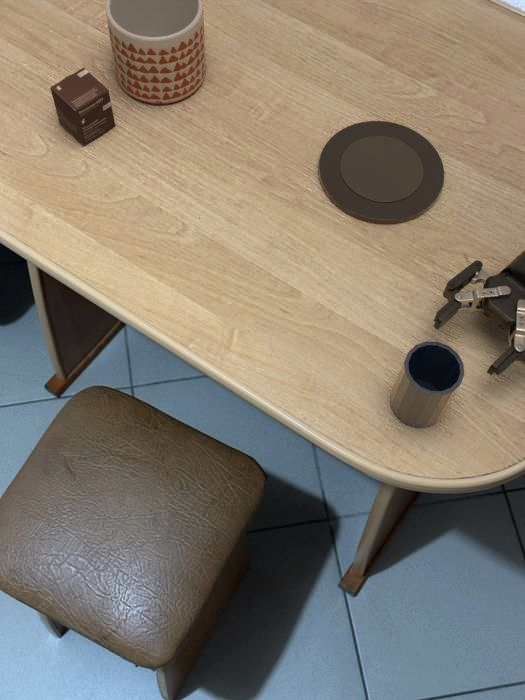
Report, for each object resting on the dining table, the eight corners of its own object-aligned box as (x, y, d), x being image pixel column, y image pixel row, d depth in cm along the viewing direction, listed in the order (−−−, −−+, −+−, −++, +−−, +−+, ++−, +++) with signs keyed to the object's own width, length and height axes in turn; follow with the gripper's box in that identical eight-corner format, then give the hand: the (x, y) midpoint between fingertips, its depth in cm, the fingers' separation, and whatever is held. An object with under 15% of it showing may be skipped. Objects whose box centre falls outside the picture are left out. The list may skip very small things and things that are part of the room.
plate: (437, 127, 125) (439, 122, 124) (447, 226, 117) (449, 221, 116) (317, 123, 125) (318, 117, 124) (319, 222, 116) (319, 217, 115)
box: (83, 147, 121) (74, 111, 115) (58, 123, 123) (48, 86, 117) (116, 126, 123) (109, 89, 117) (91, 103, 125) (83, 65, 119)
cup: (442, 378, 106) (461, 342, 97) (446, 428, 103) (466, 395, 94) (388, 377, 106) (403, 340, 97) (391, 427, 103) (406, 393, 94)
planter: (101, 91, 126) (88, 23, 115) (138, 31, 132) (129, -40, 121) (185, 116, 125) (180, 50, 113) (218, 54, 131) (217, -15, 119)
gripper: (510, 220, 106) (425, 294, 100) (602, 291, 101) (519, 373, 96) (493, 253, 112) (413, 325, 107) (579, 321, 108) (500, 400, 102)
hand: (463, 348), depth 101 cm, fingers open, 8 cm apart
